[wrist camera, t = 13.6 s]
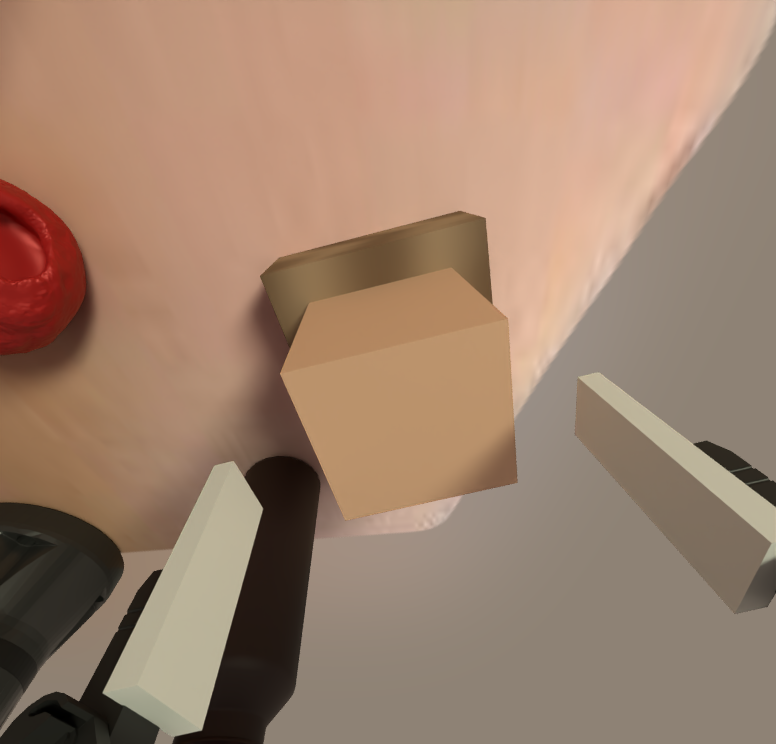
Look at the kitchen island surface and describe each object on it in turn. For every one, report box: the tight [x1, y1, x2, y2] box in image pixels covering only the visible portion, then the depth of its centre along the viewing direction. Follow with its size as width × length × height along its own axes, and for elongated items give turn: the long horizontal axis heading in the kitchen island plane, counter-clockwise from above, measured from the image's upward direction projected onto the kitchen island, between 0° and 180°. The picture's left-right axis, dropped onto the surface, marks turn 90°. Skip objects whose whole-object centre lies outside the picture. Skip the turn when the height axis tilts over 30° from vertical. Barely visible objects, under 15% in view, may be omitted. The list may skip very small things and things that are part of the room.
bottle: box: [172, 457, 320, 744], centre depth 23 cm, size 7×7×20 cm
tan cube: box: [280, 267, 517, 521], centre depth 17 cm, size 8×8×8 cm
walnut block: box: [260, 211, 493, 348], centre depth 23 cm, size 12×12×5 cm
